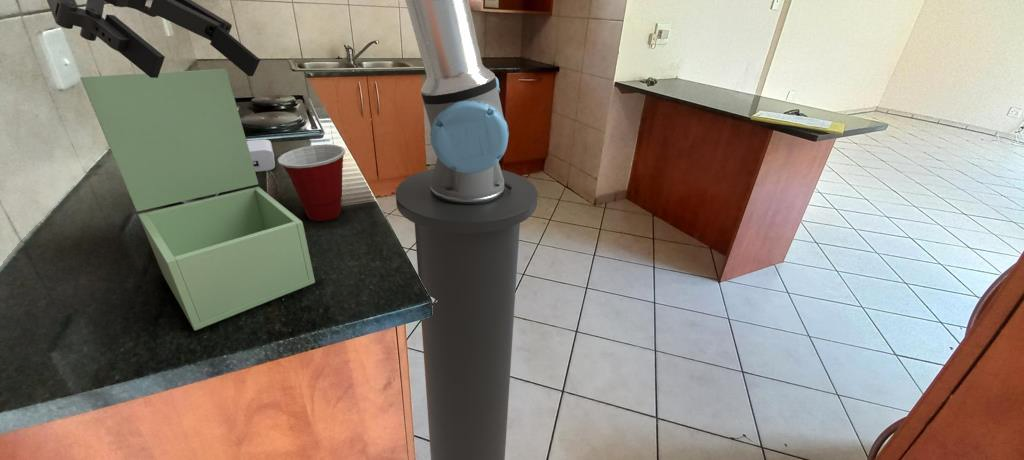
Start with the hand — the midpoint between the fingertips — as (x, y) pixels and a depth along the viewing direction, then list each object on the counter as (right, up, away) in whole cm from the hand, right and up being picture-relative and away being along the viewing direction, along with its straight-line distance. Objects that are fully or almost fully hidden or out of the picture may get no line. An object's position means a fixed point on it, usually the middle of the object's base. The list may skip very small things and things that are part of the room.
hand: (212, 68), depth 51 cm
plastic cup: (+1, -17, +27) cm, 32 cm away
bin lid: (-7, -8, +5) cm, 11 cm away
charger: (-25, -4, +50) cm, 56 cm away
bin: (-2, -27, +9) cm, 28 cm away
